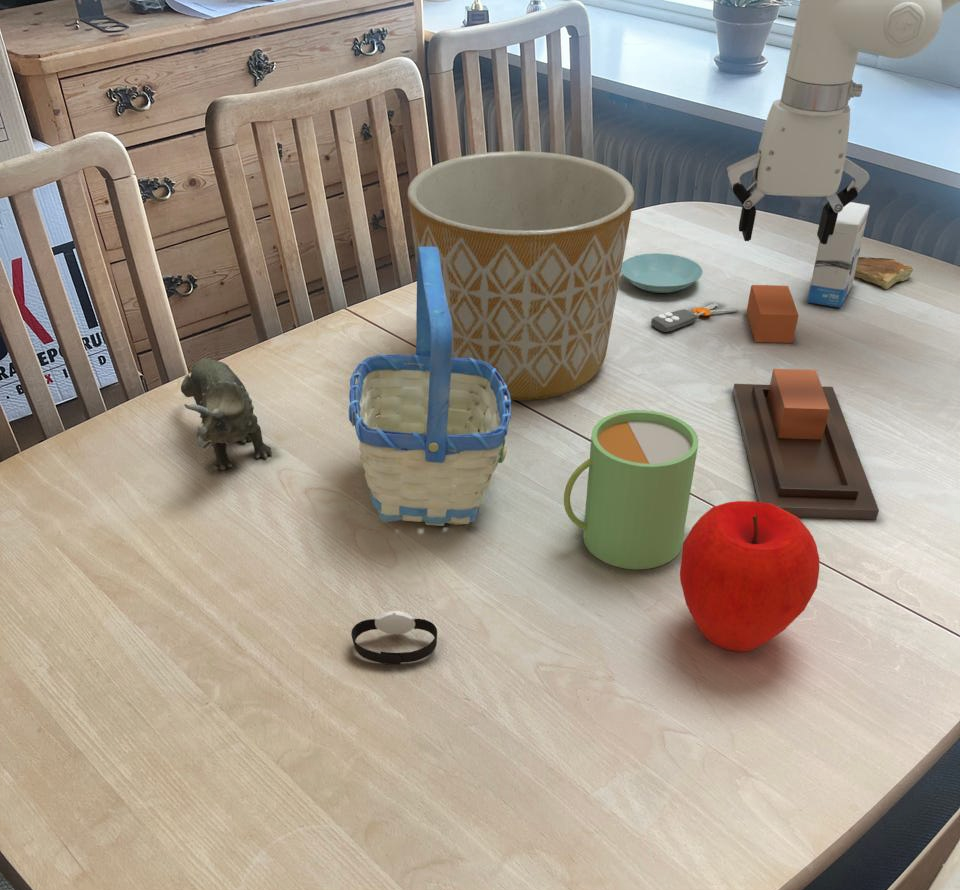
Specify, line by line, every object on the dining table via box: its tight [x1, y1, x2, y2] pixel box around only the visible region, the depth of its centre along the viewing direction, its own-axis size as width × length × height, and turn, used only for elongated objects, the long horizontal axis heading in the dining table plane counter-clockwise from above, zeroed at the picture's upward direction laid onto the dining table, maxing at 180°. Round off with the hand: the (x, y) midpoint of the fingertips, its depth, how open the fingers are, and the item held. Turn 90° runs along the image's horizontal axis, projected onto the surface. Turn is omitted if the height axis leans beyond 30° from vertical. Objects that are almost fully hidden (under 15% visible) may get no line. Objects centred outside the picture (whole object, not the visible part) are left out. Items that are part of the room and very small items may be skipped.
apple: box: [679, 500, 821, 652], centre depth 92 cm, size 12×12×13 cm
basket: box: [348, 247, 512, 527], centre depth 106 cm, size 21×16×24 cm
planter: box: [407, 150, 635, 401], centre depth 128 cm, size 26×26×22 cm
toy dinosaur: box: [180, 357, 273, 471], centre depth 117 cm, size 22×8×11 cm, turn 18°
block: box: [746, 284, 800, 344], centre depth 141 cm, size 9×5×4 cm, turn 176°
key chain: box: [651, 302, 738, 333], centre depth 144 cm, size 13×4×2 cm, turn 123°
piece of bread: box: [854, 256, 914, 290], centre depth 155 cm, size 11×8×2 cm
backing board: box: [732, 368, 880, 520], centre depth 118 cm, size 26×12×5 cm, turn 176°
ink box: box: [806, 201, 870, 308], centre depth 146 cm, size 9×5×12 cm, turn 154°
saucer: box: [621, 252, 704, 294], centre depth 152 cm, size 12×12×2 cm
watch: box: [350, 610, 438, 665], centre depth 94 cm, size 8×5×4 cm, turn 91°
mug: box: [563, 409, 700, 570], centre depth 103 cm, size 13×10×12 cm
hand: (783, 238), depth 134 cm, fingers open, 9 cm apart
